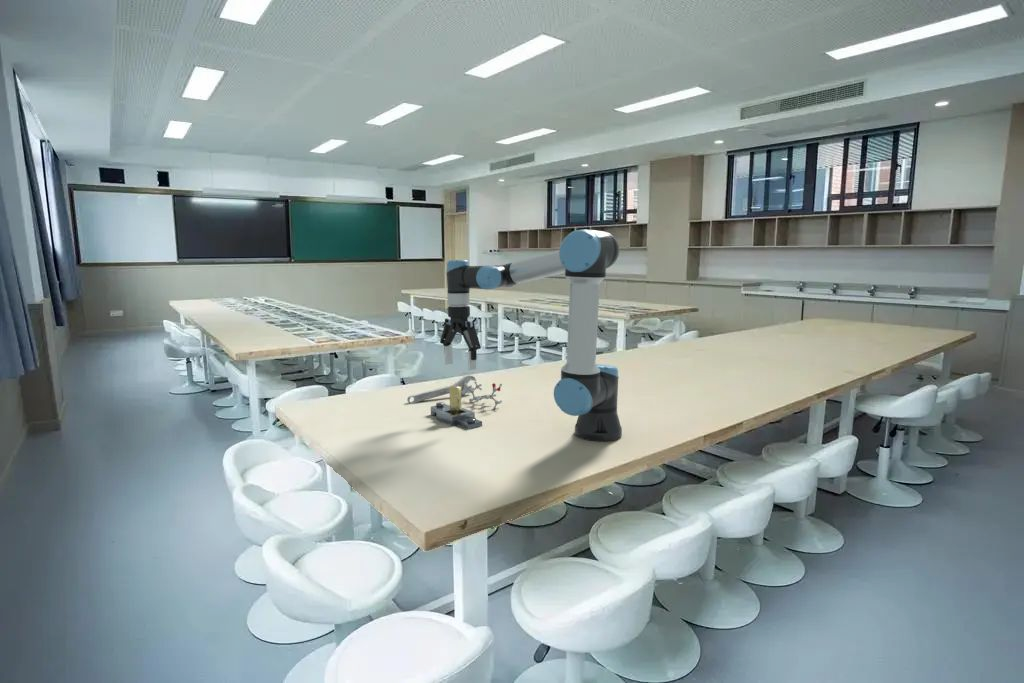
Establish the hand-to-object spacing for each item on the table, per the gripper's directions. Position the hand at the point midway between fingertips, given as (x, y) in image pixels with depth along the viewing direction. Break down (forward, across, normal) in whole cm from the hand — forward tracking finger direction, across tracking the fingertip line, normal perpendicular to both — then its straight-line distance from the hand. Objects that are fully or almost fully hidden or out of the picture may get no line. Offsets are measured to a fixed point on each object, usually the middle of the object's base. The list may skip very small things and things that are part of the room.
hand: (460, 366), depth 191 cm
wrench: (+19, +29, -12) cm, 37 cm away
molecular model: (+19, +10, -18) cm, 28 cm away
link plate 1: (+19, +5, +1) cm, 20 cm away
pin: (+19, +2, +1) cm, 19 cm away
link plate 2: (+19, -2, +1) cm, 19 cm away
